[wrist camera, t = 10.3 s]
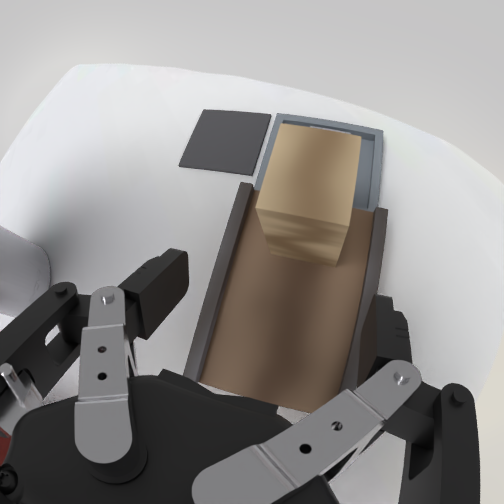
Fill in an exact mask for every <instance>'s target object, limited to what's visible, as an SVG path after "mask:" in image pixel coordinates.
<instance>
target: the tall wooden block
mask: <svg viewBox="0 0 504 504" xmlns="http://www.w3.org/2000/svg"><path fill="white" fill-rule="evenodd" d="M360 146H361V136H357V135H352V134H346V133H341V132H335V131H330V130H324V129H318V128H312V127H305V126H298V125H291V124H283V123H281V124H280V127H279V130H278V134H277V137H276V140H275V144H274V147H273V150H272V154H271V157H270V160H269V163H268V167H267V170H266V173H265V177H264V180H263V183H262V187H261V190H260V193H259V197H258V200H257V204H256V207H255V208H256V211H257V214H258V217H259V220H260V223H261V226H262V229H263V232H264V235H265V238H266V241H267V244H268V247H269V250H270V253H271V254H274V255H278V256H283V257H288V258H292V259H297V260H301V261H306V262H311V263H315V264H320V265H324V266H329V267H334V268H335V267H336V264H337V261H338V258H339V255H340V252H341V249H342V246H343V243H344V240H345V237H346V234H347V231H348V228H349V223H350V217H351V211H352V205H353V198H354V192H355V185H356V178H357V170H358V162H359V154H360Z"/></svg>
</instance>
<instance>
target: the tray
mask: <svg viewBox="0 0 504 504" xmlns="http://www.w3.org/2000/svg"><path fill="white" fill-rule="evenodd" d="M281 123H283V124H291V125H298V126H305V127H310V126H315V127H321V128H327V129H333V130H338V131H344V132H349V133H351V134H352V135H357V136H361V146H360V154H359V162H358V170H357V178H356V185H355V192H354V198H353V205H352V208H356V209H361V210H365V211H370V212H374V210H375V208H376V207H378V198H379V188H380V177H381V164H382V148H383V130H378V129H373V128H369V127H364V126H359V125H353V124H348V123H342V122H337V121H331V120H325V119H318V118H311V117H304V116H297V115H289V114H280V113H277V115H276V118H275V122H274V125H273V128H272V131H271V135H270V138H269V141H268V144H267V148H266V151H265V154H264V157H263V161H262V164H261V167H260V170H259V174H258V177H257V180H256V184H255V187H254V190H259V191H260V190H261V187H262V183H263V180H264V177H265V173H266V170H267V167H268V163H269V160H270V157H271V154H272V150H273V147H274V144H275V140H276V137H277V134H278V130H279V127H280V124H281Z"/></svg>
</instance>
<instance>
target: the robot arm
mask: <svg viewBox="0 0 504 504" xmlns="http://www.w3.org/2000/svg"><path fill="white" fill-rule="evenodd" d="M49 284H50V264H49V259H48V257H47V254H46V253H45V251H44V250H43V249H42V248H40V247H39V246H37V245H35V244H33V243H31V242H29V241H27V240H25V239H24V238H22V237H20V236H18V235H16V234H14V233H13V232H11V231H9V230H7V229H5V228H3V227H2V226H0V313H1V314H5V315H9V316H13V317H16V318H15V319H14V320H13V321H12V322H11V323H10V324H8V325H7V326H6V327H5V328H4V329H3V330H2V331H1V332H0V436H1V437H3V438H10V439H11V441H10V445H9V449H8V452H7V455H6V457H5V459H4V461H3V463H2V465H1V466H0V504H339V502H338V500H337V498H336V496H335V495H334V493H333V491H332V489H331V487H330V486H329V483H331V482H332V481H333V480H334V479H336V478H337V477H338V476H339V475H340V474H342V473H343V472H344V471H345V470H346V469H347V468H348V467H349V466H350V465H351V464H352V463H353V462H354V461H355V460H356V459H358V458H359V457H360V456H361V455H362V454H363V453H364V452H365V451H367V450H368V449H369V448H370V447H371V446H372V445H373V444H374V443H375V442H376V441H377V440H378V439H379V438H380V437H382V436H383V435H384V434H385V433H386V432H388V433H390V434H392V435H395V436H397V437H399V438H402V439H404V440H406V448H405V458H404V467H403V475H402V483H401V490H400V496H399V502H398V504H480V457H479V441H478V429H477V419H476V411H475V403H474V398H473V396H472V394H471V392H470V391H469V390H468V389H467V388H466V387H464V386H462V385H460V384H456V383H451V384H448V385H446V386H444V388H443V389H442V390H439V389H437V388H435V387H432V386H430V385H428V384H426V383H424V382H423V381H422V380H421V374H420V372H419V370H418V369H417V368H416V367H415V366H414V365H413V364H412V355H411V347H410V339H409V332H408V324H407V320H406V318H405V317H404V315H403V314H402V312H399V311H394V309H393V300H392V297H388V296H383V295H378V294H374V295H373V298H372V301H371V304H370V306H369V309H368V312H367V315H366V318H365V321H364V324H363V327H362V331H361V336H360V351H359V366H358V378H357V389H356V390H354V391H352V390H351V389H346V390H344V391H343V392H341V393H340V394H339V395H337V396H336V397H334V398H333V399H332V400H330V401H329V402H327V403H326V404H325V405H323V406H322V407H320V408H319V409H317V410H316V411H314V412H313V413H311V414H310V415H308V416H307V417H305V418H304V419H302V420H301V421H299V422H298V423H296V424H294V425H293V424H291V423H290V422H289V421H288V420H286V419H285V418H283V417H281V416H280V415H278V414H276V413H277V409H278V405H276V404H272V403H268V402H264V401H260V400H257V399H253V398H250V397H241V396H230V395H220V394H215V393H212V392H211V391H209V390H207V389H206V388H204V387H203V386H201V385H199V384H198V383H196V382H195V381H193V380H191V379H190V378H187V377H185V376H182V375H179V374H176V373H174V372H171V371H168V370H166V369H163V370H162V371H161V372H160V374H159V375H158V376H155V375H142V376H138V369H137V361H136V352H135V344H134V339H135V338H136V337H140V338H142V339H145V340H148V338H149V337H150V336H151V335H152V334H153V332H154V331H155V330H156V329H157V328H158V326H159V325H160V324H161V323H162V322H163V320H164V319H165V318H166V317H167V316H168V315H169V313H170V312H171V311H172V310H173V309H174V307H175V306H176V305H177V304H178V303H179V301H180V300H181V299H182V298H183V297H184V296H185V294H186V292H187V290H188V286H189V266H188V254H187V252H186V251H181V250H177V249H173V248H170V249H168V250H167V251H166V252H165V253H164V254H162V255H161V256H160V257H159V256H157V257H155V258H152V259H150V260H148V261H147V262H145V263H144V264H143V265H142V266H141V268H138V269H137V270H136V271H135V272H134V273H133V274H131V275H130V276H129V277H128V278H127V279H126V280H125V281H123V282H122V283H121V284H120V285H119V286H118V287H114V286H107V287H103V288H100V289H98V290H96V291H95V292H94V293H93V294H92V295H82V294H78V292H77V288H76V286H75V284H73V283H70V282H61V283H58V284H55V285H53V286H52V287H51V288H49ZM48 288H49V289H48ZM56 325H58V328H59V331H60V332H59V333H58V334H57V335H56V336H55V337H54V338H53V340H52V341H51V342H50V343H49V344H48V345H47V346H46V345H45V338H46V335H47V334H48V333H49V332H50V331H51V330H52V329H53V328H54V327H55V326H56ZM79 356H80V367H79V394H78V395H77V396H74V397H71V398H67V399H64V400H61V401H58V402H54V403H51V404H48V405H44V406H42V403H43V399H44V398H45V397H46V395H47V394H48V393H49V392H50V390H51V389H52V388H53V387H54V386H55V384H56V383H57V382H58V381H59V379H60V378H61V377H62V376H63V375H64V373H65V372H66V371H67V370H68V369H69V367H70V366H71V365H72V364H73V363H74V362H75V360H76V359H77V358H78V357H79Z"/></svg>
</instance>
